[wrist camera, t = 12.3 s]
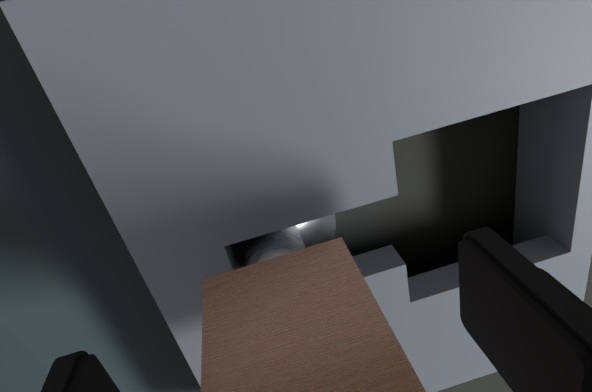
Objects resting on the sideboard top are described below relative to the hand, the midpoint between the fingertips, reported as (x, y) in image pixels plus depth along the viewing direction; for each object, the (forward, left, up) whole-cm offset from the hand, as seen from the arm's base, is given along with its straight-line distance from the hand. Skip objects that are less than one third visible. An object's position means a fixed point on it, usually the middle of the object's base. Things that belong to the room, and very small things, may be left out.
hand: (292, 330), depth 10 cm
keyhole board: (0, +4, -6) cm, 7 cm away
